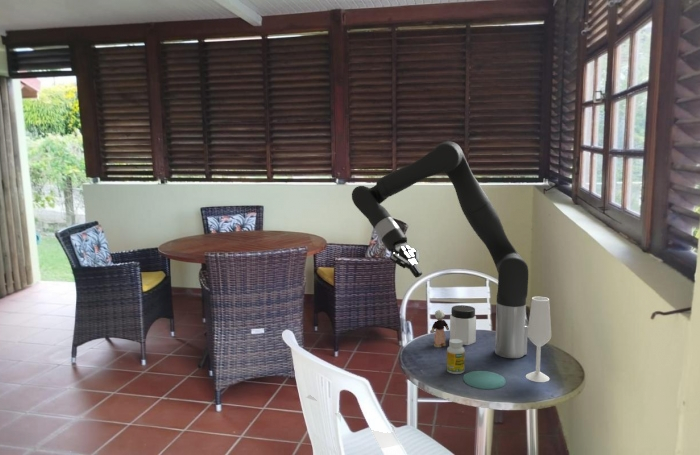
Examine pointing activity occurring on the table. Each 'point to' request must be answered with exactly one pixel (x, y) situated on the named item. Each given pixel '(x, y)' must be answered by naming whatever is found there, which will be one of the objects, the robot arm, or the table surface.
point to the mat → (484, 380)
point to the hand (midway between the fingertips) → (419, 275)
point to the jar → (463, 324)
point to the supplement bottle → (455, 357)
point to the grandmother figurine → (439, 329)
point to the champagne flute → (539, 332)
